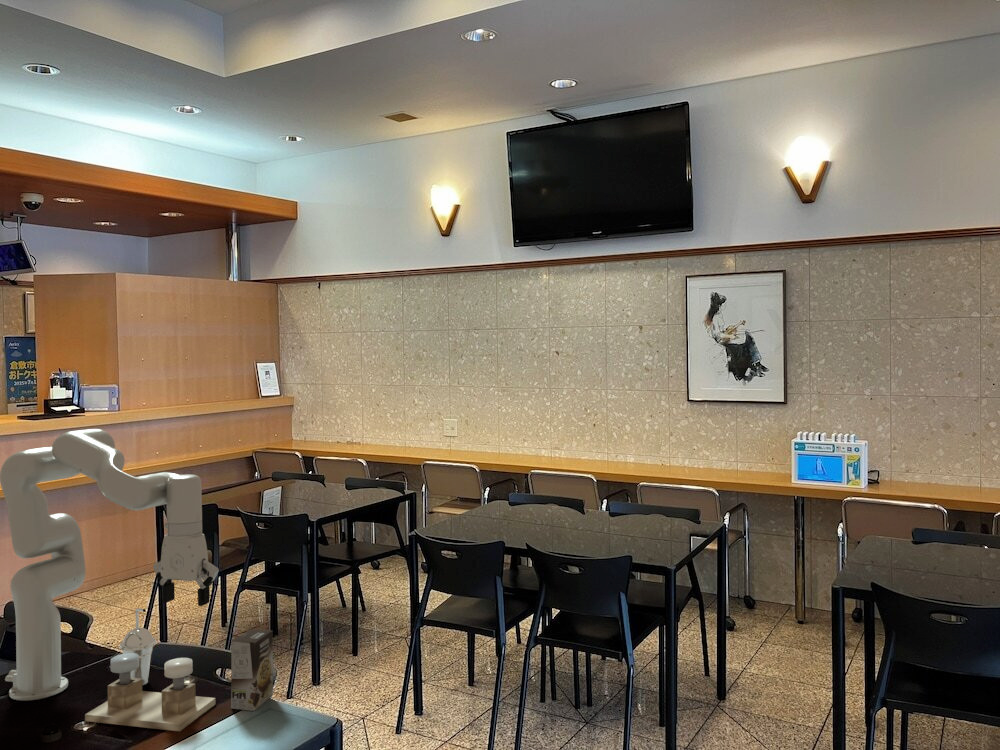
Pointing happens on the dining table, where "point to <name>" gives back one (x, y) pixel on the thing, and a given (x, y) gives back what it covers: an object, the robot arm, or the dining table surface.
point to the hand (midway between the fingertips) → (186, 602)
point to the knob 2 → (178, 671)
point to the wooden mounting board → (150, 706)
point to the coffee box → (251, 669)
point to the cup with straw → (139, 648)
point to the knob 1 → (124, 666)
